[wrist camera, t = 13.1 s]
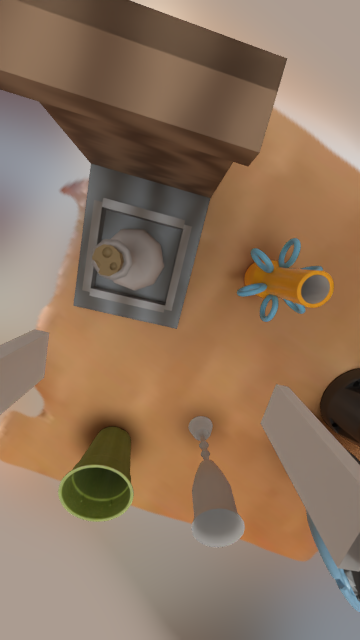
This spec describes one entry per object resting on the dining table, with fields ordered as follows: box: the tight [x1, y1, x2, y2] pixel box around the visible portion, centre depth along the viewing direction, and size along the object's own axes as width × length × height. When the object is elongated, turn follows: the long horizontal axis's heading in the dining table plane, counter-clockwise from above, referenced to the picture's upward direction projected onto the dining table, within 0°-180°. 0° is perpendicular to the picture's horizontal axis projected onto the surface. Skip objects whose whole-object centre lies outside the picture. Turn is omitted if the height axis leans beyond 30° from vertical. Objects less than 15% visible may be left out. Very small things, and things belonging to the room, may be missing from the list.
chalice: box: [189, 416, 245, 547], centre depth 37 cm, size 7×7×18 cm
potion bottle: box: [92, 229, 164, 291], centre depth 27 cm, size 9×9×18 cm
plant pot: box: [58, 427, 134, 522], centre depth 40 cm, size 12×12×11 cm
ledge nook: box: [0, 0, 287, 329], centre depth 25 cm, size 18×23×23 cm
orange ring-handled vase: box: [237, 238, 334, 322], centre depth 31 cm, size 12×10×15 cm
